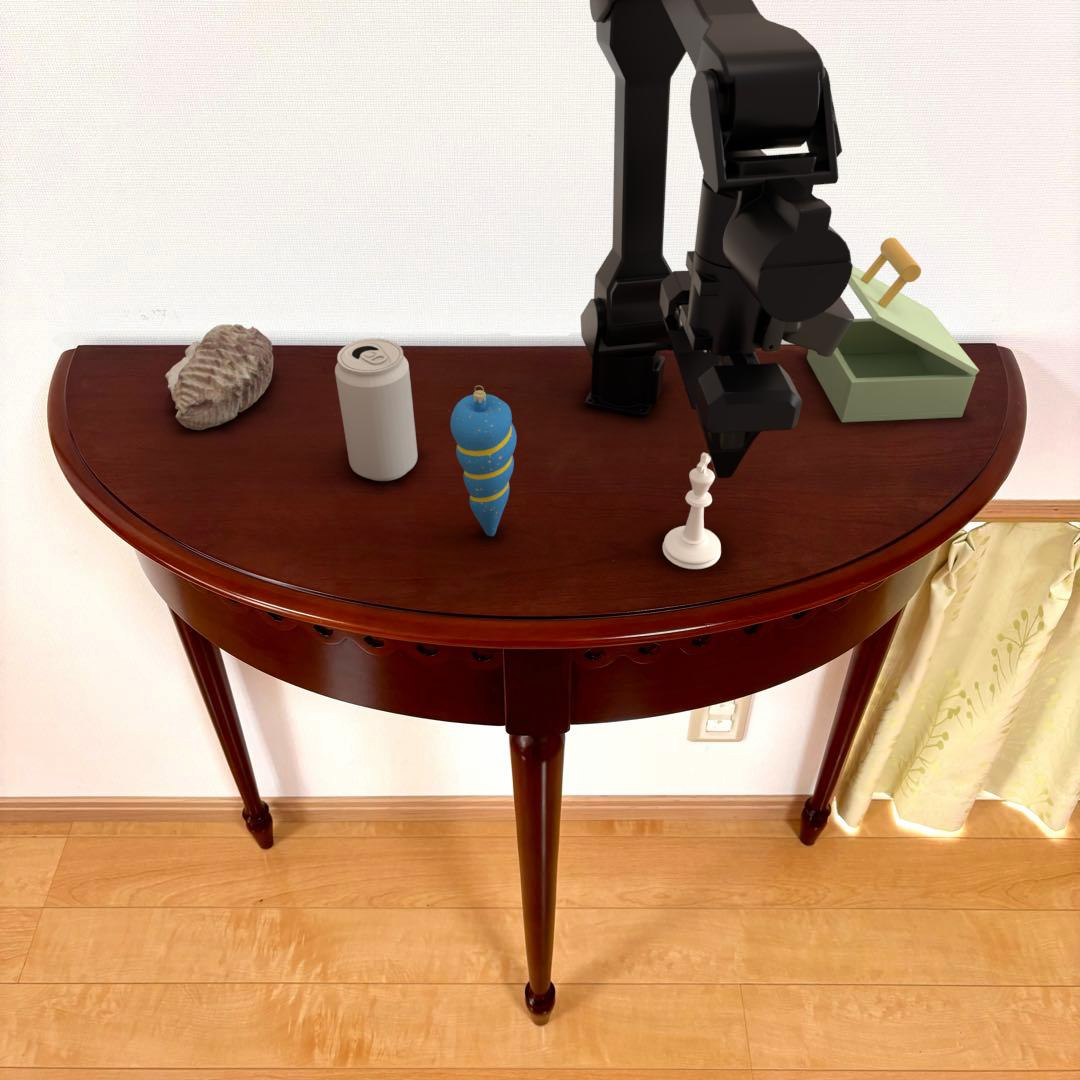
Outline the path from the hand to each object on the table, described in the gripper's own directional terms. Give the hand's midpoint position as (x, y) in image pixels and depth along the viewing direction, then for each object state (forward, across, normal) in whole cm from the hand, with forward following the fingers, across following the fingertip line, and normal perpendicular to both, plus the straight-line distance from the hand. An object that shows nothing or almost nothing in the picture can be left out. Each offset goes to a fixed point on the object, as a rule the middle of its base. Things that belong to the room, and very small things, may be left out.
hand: (710, 441), depth 75 cm
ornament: (+11, +3, +18) cm, 21 cm away
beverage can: (+11, +14, +27) cm, 32 cm away
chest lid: (+3, +23, -25) cm, 34 cm away
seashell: (+11, +27, +44) cm, 53 cm away
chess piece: (+11, 0, 0) cm, 11 cm away
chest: (+11, +23, -25) cm, 36 cm away
